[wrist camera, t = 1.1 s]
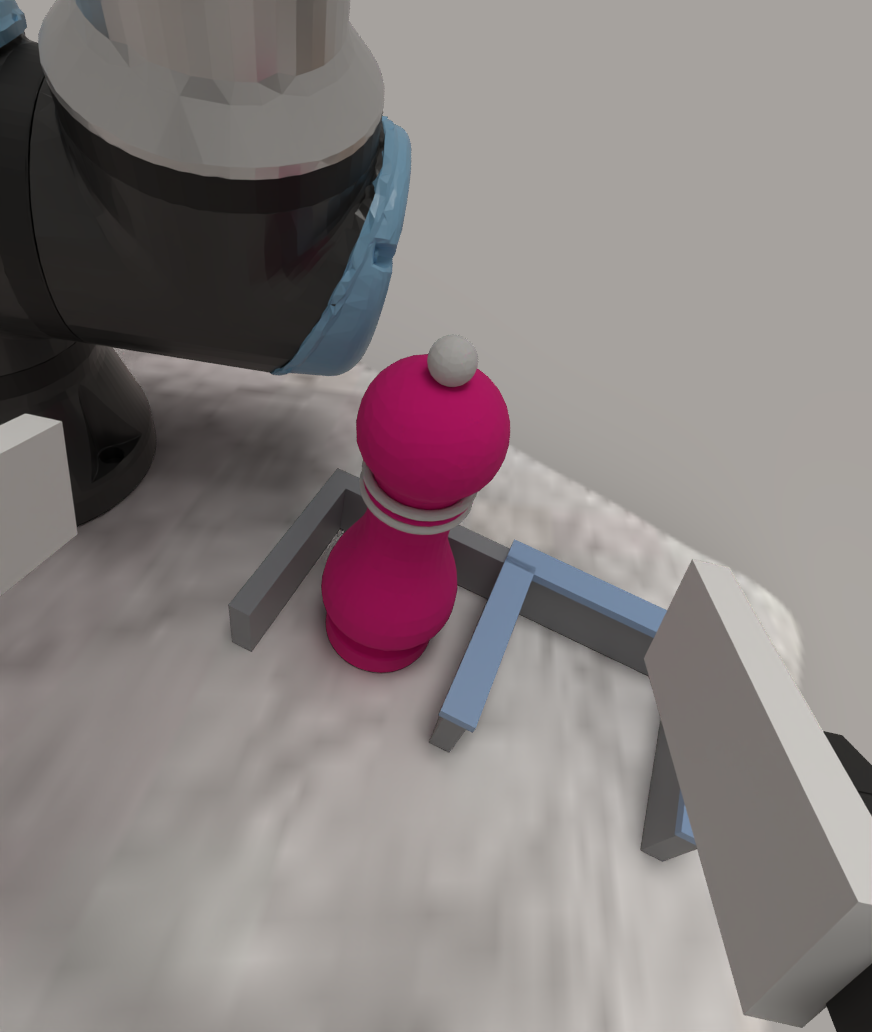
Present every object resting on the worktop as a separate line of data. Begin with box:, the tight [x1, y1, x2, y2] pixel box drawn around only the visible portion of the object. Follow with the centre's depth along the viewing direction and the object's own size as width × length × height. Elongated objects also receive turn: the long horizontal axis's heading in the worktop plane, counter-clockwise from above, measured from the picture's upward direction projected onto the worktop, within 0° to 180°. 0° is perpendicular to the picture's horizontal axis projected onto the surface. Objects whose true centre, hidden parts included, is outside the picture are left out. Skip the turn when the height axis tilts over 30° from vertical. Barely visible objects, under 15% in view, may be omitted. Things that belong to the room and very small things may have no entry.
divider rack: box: [228, 468, 697, 861], centre depth 33 cm, size 26×12×5 cm, turn 67°
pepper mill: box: [321, 335, 510, 673], centre depth 28 cm, size 7×7×20 cm
